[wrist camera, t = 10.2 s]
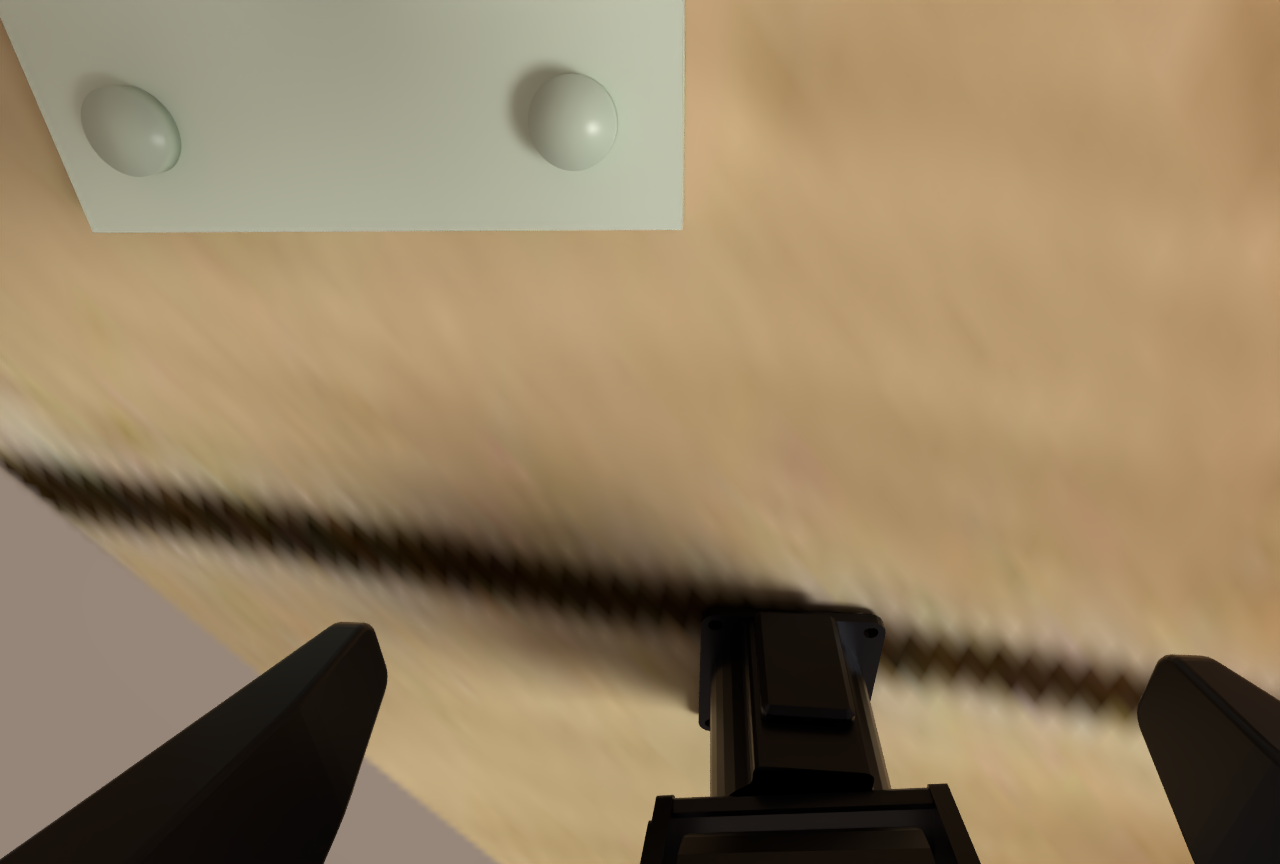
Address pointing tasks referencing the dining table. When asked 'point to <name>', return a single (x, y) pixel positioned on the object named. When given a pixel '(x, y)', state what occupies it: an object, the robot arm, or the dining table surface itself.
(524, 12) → the baseplate
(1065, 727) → the dining table surface
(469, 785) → the dining table surface
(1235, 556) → the dining table surface
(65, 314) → the dining table surface
